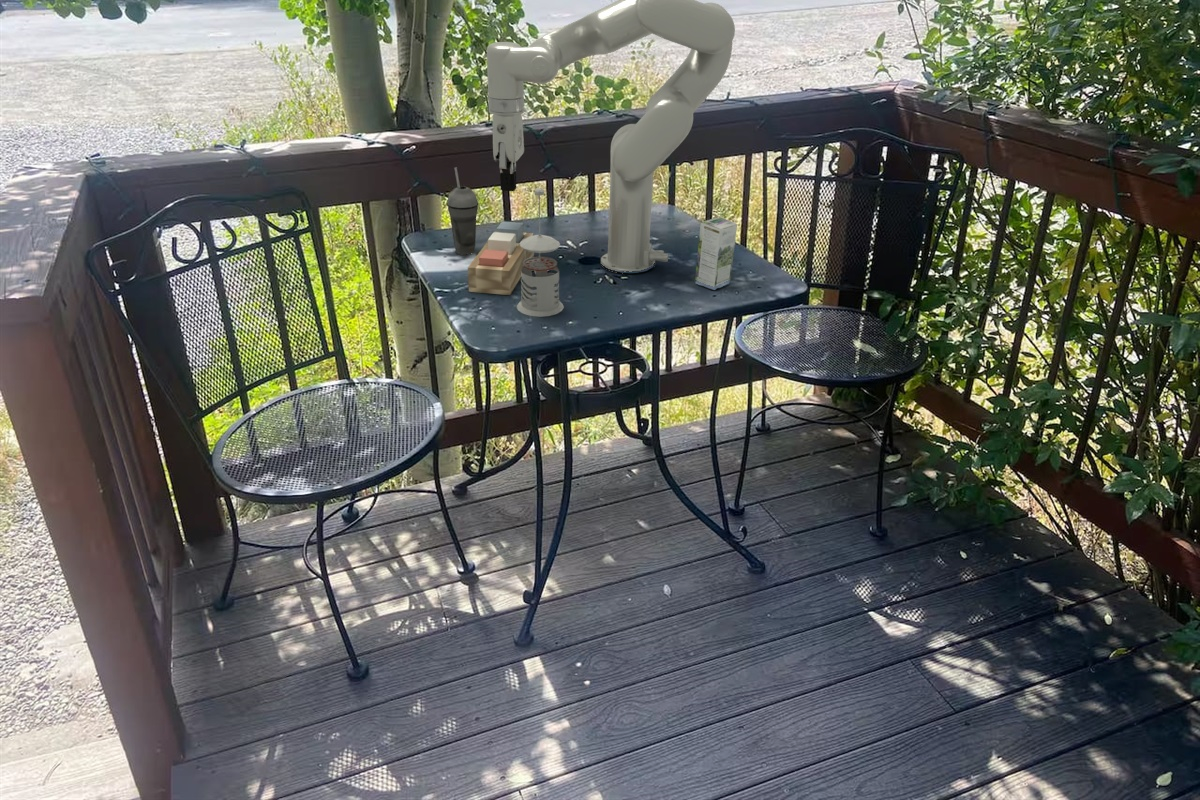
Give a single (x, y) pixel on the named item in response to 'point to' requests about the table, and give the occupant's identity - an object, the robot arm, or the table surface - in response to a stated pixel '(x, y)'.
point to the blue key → (512, 229)
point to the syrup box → (715, 251)
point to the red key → (493, 258)
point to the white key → (502, 242)
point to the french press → (539, 275)
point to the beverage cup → (463, 217)
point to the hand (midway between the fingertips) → (508, 189)
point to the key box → (497, 272)
